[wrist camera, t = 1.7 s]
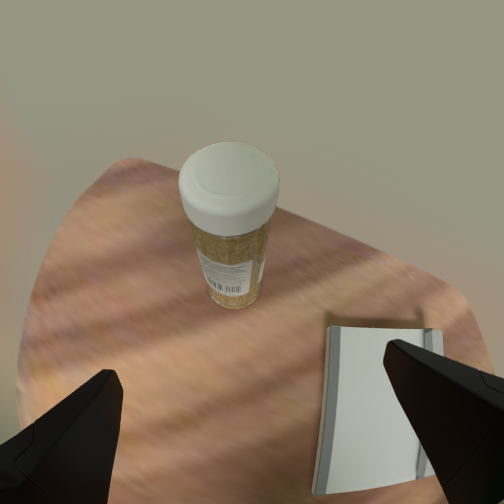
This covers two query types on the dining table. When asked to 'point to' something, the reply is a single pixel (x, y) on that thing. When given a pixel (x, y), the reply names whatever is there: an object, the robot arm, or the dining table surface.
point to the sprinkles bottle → (230, 216)
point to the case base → (366, 414)
